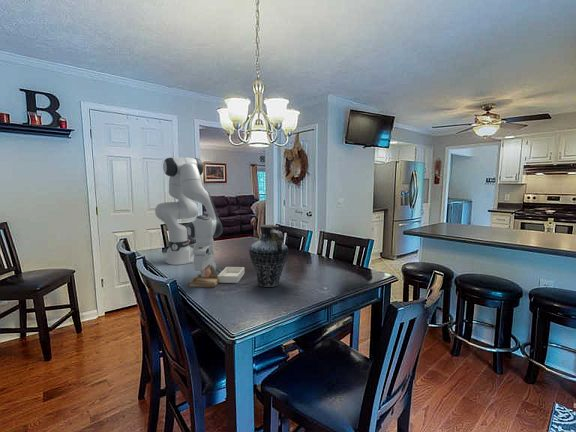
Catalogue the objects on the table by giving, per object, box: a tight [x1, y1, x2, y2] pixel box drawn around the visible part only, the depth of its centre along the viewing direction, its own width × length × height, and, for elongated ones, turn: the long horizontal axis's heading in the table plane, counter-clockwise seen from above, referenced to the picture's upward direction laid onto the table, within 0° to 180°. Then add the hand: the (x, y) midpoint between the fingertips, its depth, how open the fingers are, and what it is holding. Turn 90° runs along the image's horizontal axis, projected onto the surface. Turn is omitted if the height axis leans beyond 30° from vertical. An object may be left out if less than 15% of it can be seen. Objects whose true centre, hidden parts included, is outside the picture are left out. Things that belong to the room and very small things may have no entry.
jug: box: [248, 224, 289, 288], centre depth 149 cm, size 21×19×30 cm
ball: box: [204, 268, 211, 278], centre depth 152 cm, size 5×5×5 cm
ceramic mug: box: [210, 260, 222, 275], centre depth 166 cm, size 11×8×8 cm
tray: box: [187, 274, 220, 289], centre depth 153 cm, size 13×13×2 cm
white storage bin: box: [217, 266, 245, 284], centre depth 161 cm, size 16×10×4 cm, turn 176°
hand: (205, 274), depth 152 cm, fingers closed on ball, 5 cm apart
